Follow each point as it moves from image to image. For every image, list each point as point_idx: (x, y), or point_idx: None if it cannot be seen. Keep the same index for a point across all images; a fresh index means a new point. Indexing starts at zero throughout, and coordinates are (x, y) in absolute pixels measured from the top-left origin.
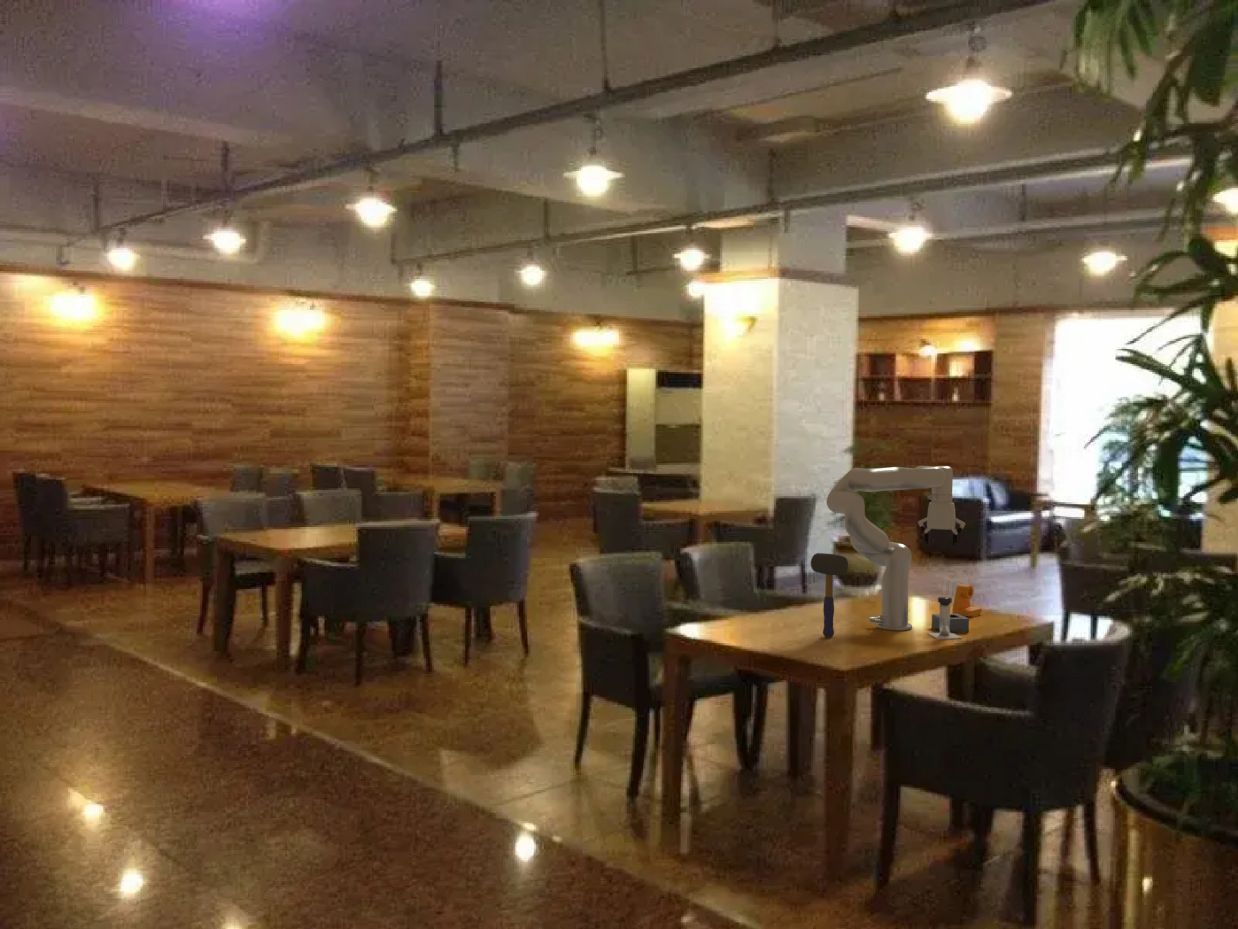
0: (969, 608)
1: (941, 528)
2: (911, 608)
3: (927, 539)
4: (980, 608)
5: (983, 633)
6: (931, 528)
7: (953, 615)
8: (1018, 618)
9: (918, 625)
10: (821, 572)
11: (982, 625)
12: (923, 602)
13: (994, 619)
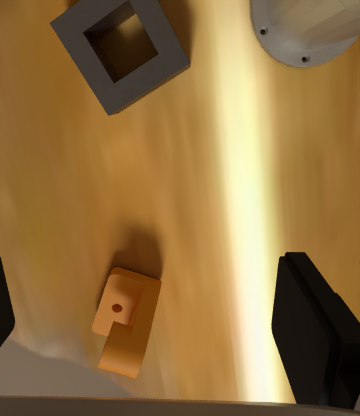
0: (120, 314)
1: (15, 401)
2: None
3: (311, 279)
4: (93, 323)
5: (23, 33)
6: (326, 409)
7: (116, 82)
8: None
9: (234, 89)
10: None
11: (59, 171)
12: None
13: (53, 269)
